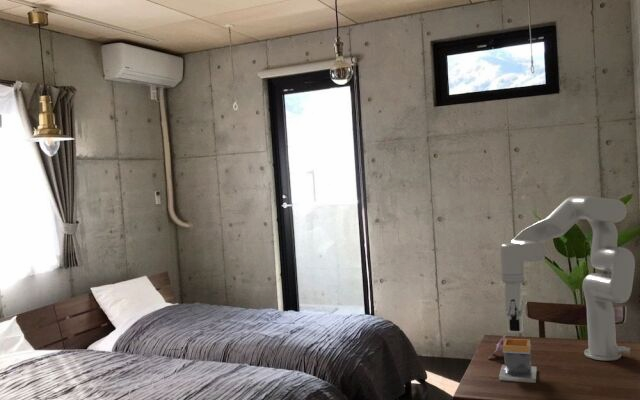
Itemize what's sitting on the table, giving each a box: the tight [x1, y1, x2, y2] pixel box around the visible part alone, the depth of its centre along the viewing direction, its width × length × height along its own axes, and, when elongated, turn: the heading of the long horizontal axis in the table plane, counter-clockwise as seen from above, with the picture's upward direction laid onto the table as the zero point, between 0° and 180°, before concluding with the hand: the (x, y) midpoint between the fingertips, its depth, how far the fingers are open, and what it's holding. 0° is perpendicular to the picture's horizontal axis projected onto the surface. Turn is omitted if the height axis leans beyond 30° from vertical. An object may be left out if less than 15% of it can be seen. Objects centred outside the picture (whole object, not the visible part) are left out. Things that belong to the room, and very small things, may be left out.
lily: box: [488, 332, 509, 358], centre depth 222 cm, size 12×12×10 cm
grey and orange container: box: [498, 338, 538, 384], centre depth 202 cm, size 12×12×12 cm
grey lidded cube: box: [506, 308, 524, 334], centre depth 201 cm, size 5×5×7 cm
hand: (515, 327), depth 201 cm, fingers closed on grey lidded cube, 5 cm apart
